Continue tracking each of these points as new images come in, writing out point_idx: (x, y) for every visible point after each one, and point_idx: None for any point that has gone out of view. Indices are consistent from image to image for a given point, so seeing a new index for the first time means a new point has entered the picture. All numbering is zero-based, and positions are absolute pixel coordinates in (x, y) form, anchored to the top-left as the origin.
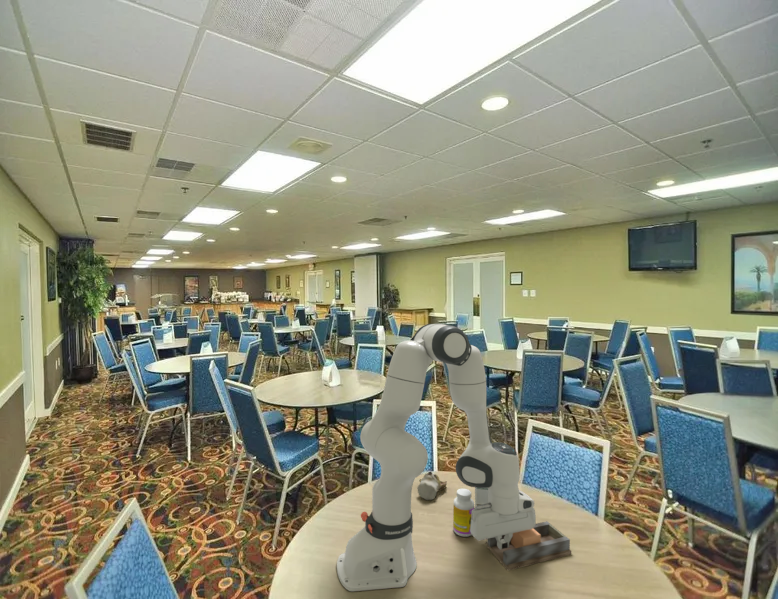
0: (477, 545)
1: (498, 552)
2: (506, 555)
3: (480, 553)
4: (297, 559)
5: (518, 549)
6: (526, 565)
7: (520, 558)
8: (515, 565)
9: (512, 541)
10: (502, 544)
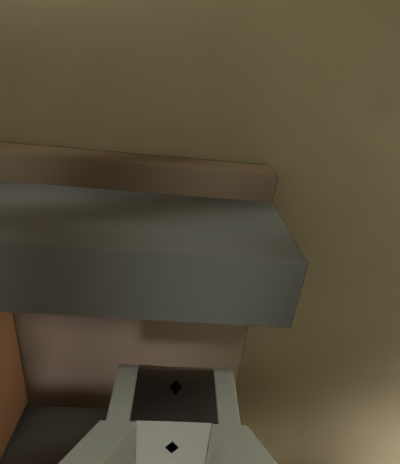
0: (273, 442)
1: (211, 352)
2: (303, 256)
3: (316, 387)
4: None
5: (51, 285)
6: (36, 145)
7: (76, 201)
8: (175, 166)
9: (10, 410)
10: (210, 412)
